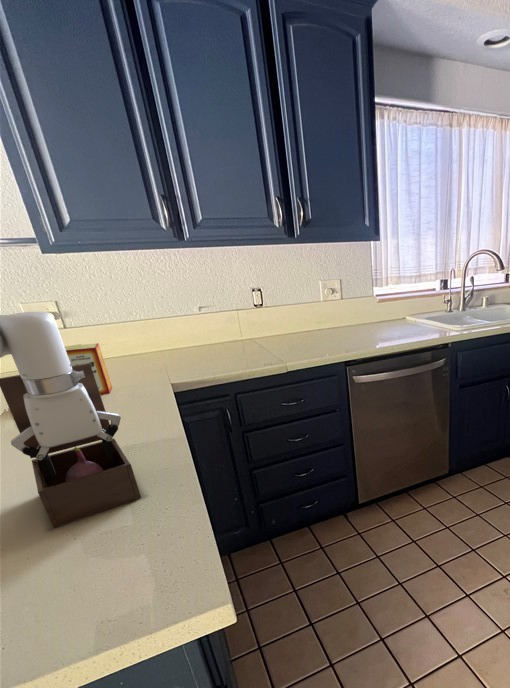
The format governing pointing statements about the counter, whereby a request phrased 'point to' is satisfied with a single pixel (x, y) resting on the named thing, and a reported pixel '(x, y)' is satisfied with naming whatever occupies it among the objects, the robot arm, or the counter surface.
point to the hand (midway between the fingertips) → (83, 465)
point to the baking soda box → (91, 363)
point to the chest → (85, 484)
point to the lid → (15, 400)
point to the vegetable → (82, 467)
